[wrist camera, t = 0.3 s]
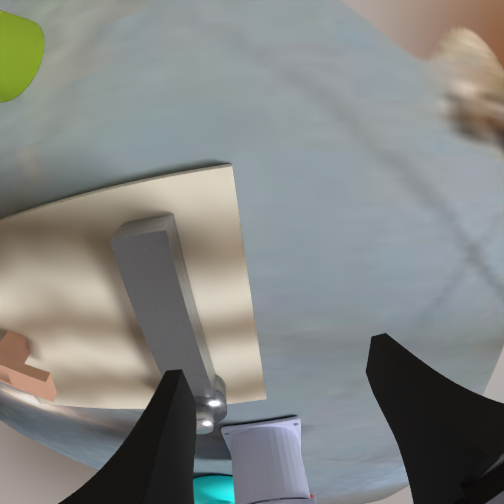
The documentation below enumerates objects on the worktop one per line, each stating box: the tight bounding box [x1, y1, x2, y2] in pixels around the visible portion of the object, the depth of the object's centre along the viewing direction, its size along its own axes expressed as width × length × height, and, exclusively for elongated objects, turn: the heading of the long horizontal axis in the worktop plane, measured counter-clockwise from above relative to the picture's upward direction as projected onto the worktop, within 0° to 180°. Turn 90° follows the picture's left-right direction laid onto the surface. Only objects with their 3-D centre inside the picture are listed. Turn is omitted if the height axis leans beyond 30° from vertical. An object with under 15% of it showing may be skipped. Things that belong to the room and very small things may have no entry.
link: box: [110, 213, 227, 434], centre depth 18 cm, size 16×4×4 cm, turn 7°
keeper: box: [0, 331, 57, 402], centre depth 18 cm, size 6×2×4 cm, turn 77°
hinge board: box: [0, 163, 267, 409], centre depth 20 cm, size 19×24×1 cm
